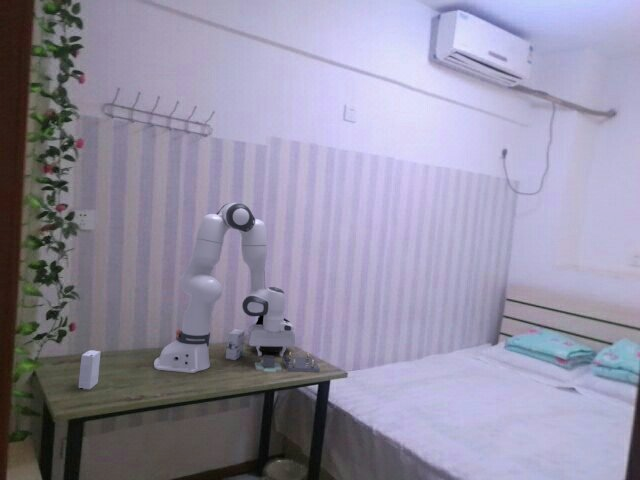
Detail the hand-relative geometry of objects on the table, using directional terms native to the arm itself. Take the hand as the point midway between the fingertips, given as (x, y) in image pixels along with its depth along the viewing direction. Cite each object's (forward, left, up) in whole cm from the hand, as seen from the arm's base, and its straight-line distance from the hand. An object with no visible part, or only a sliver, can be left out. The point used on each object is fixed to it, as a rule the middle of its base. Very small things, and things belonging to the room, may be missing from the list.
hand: (270, 355), depth 214 cm
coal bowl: (+3, +21, -5) cm, 22 cm away
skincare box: (-68, -27, -5) cm, 73 cm away
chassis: (+14, +2, -5) cm, 15 cm away
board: (-1, -1, -5) cm, 5 cm away
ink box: (-15, +11, -5) cm, 19 cm away
